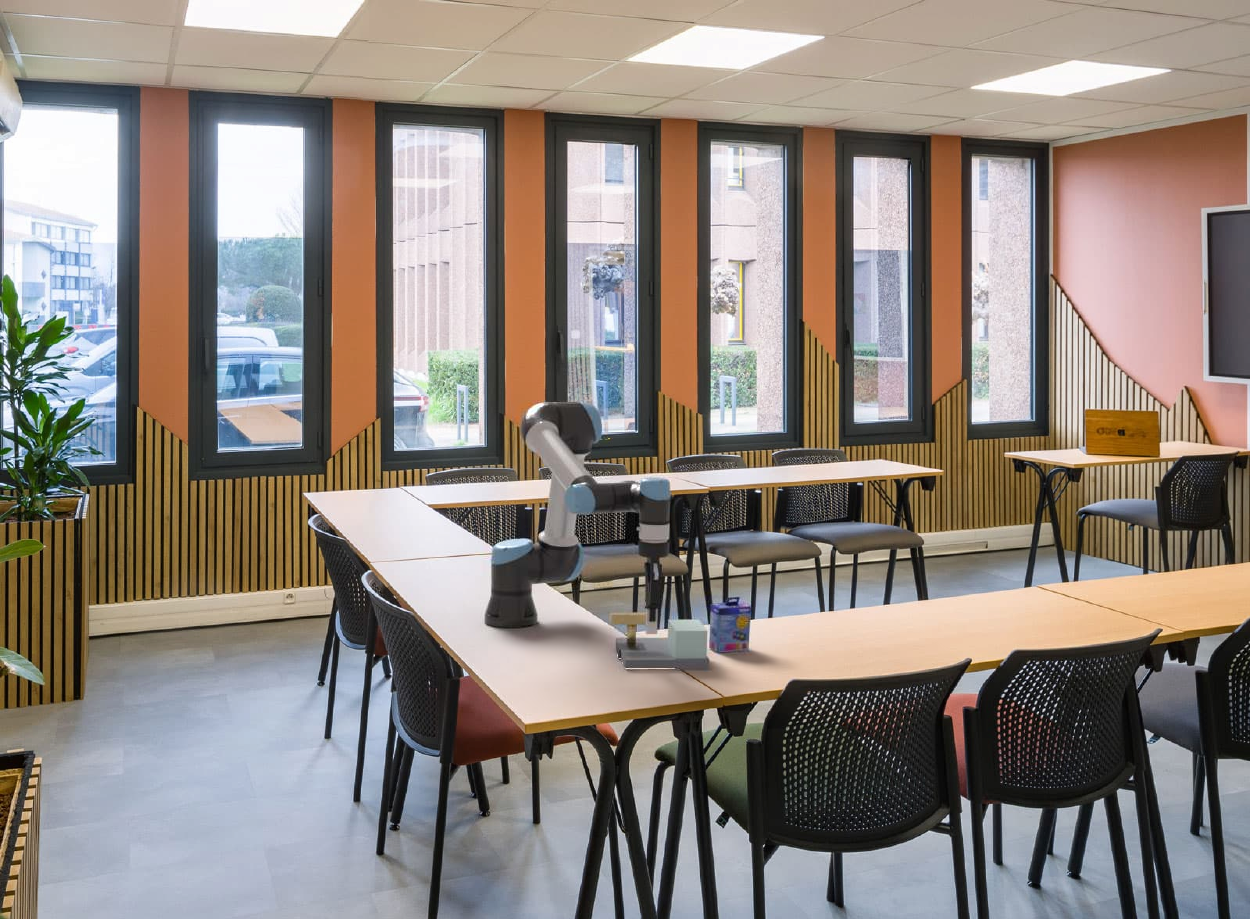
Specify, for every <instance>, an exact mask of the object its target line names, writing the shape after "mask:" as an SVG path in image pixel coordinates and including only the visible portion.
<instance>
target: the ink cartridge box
mask: <svg viewBox="0 0 1250 919" xmlns="http://www.w3.org/2000/svg"><path fill="white" fill-rule="evenodd" d="M740 597H741V596H732V597H727V599H726V601H725V602H718V603H710V614H709V615H710V616H709V619H710V620H709V621H710V622H709V638H708V639H709V640H708V641H709V642H708V643H709V644H708V647H709V648H708V649H710V650H712V651H714V652H715V653H717V654H718V653H719V654H721V653H731V652H732V653H733V652H743V651H744V652H747V651H749V649H750V632H751V631H750V630H751V614H752V612H751V611H752V606H751V605H749V604H747V603H745V602H743V601H740V599H741V598H740ZM734 600H735V601H734Z"/></svg>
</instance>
